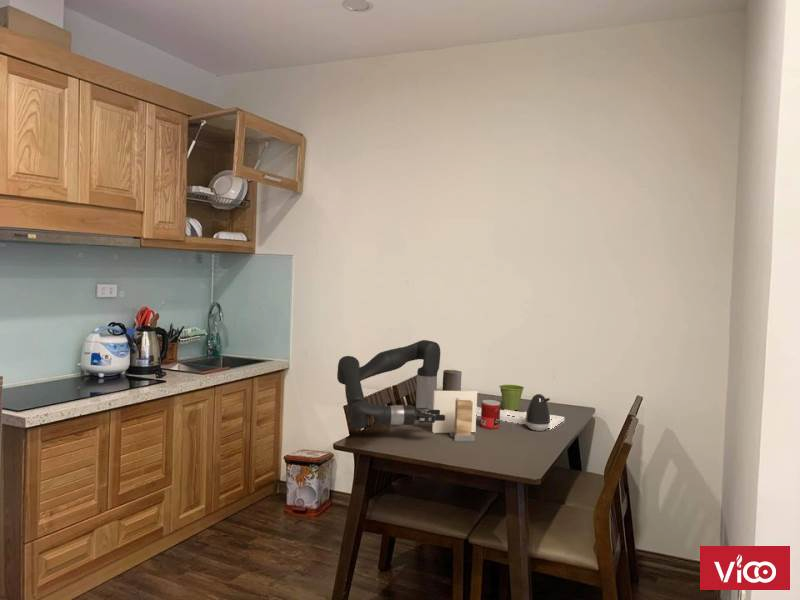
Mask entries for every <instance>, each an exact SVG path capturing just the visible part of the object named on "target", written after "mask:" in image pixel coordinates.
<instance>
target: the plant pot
mask: <svg viewBox="0 0 800 600" xmlns="http://www.w3.org/2000/svg"><path fill="white" fill-rule="evenodd" d="M499 388H500V393H501V401H502V408H503V409H502V410H511V411H515V410H518V411H519V409H520V404H521V398H522V394H523V391H524V390H525V387H524V386H522V385H518V384H502V385H499Z"/></svg>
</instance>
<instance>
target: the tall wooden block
mask: <svg viewBox="0 0 800 600" xmlns="http://www.w3.org/2000/svg"><path fill="white" fill-rule="evenodd" d="M472 407H473V402H472V401H471V400H456V403H455V425H454V435H472V433H471V429H472Z"/></svg>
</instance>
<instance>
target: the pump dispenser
mask: <svg viewBox="0 0 800 600" xmlns="http://www.w3.org/2000/svg"><path fill="white" fill-rule="evenodd" d="M549 401H550V398H549V397H545V396H544V395H542V394H541V393H537V394H534V395H533V396H532V398H531V400H530V401H529V404H528V405H527V409H526V412H527V413H526V422H527V425H526V426H527V427H528V428H529V429H530V430H532V431H535V430H536V432H543V431H545V430H548V429H547V427H548V425H549V423H550V415H551V414H550V407H549V404H548V402H549Z"/></svg>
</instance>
